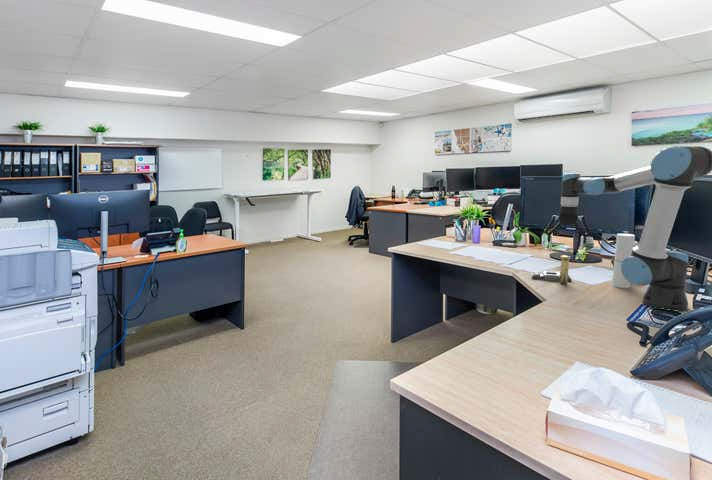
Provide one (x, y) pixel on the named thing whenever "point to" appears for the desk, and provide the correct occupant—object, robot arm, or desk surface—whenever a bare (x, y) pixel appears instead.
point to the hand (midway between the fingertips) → (565, 249)
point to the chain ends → (549, 276)
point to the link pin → (564, 269)
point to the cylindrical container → (622, 258)
